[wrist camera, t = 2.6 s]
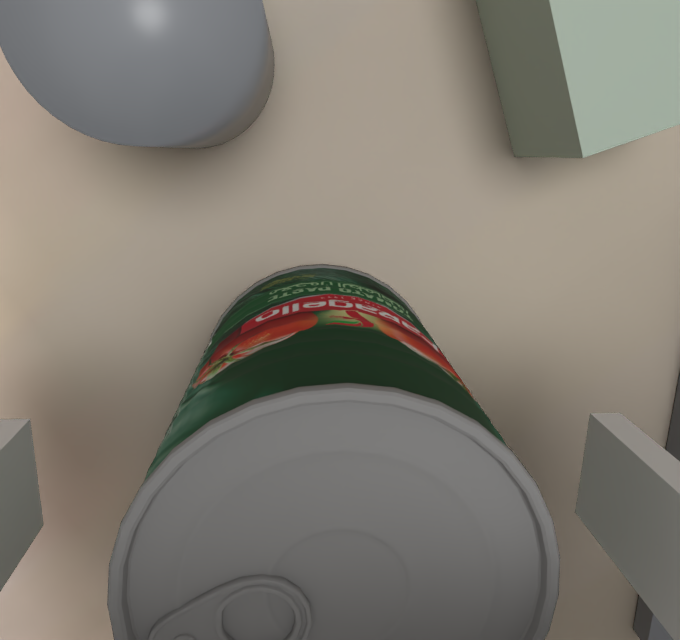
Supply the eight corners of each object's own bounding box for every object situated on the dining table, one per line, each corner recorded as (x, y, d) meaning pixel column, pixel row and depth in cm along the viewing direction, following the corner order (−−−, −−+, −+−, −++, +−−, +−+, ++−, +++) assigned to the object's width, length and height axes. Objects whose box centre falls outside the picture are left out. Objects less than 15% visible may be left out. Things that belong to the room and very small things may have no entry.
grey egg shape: (274, 150, 19) (262, 149, 12) (110, 146, 19) (5, 143, 12) (273, -29, 18) (259, -140, 11) (97, -37, 17) (-30, -157, 11)
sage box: (632, 115, 20) (741, 103, 15) (513, 156, 20) (583, 158, 15) (593, -89, 18) (701, -178, 13) (464, -43, 18) (524, -114, 13)
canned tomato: (396, 231, 20) (508, 322, 9) (457, 438, 22) (603, 701, 12) (167, 307, 20) (22, 481, 10) (250, 505, 22) (207, 826, 12)
